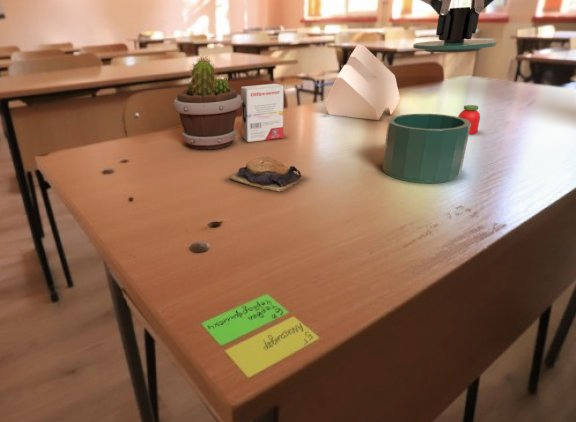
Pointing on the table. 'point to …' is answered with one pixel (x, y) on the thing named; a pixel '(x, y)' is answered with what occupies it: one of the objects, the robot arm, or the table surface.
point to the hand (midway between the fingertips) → (454, 38)
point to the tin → (425, 147)
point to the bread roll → (268, 174)
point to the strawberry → (471, 117)
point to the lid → (456, 36)
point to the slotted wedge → (363, 87)
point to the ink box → (262, 112)
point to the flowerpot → (207, 108)
